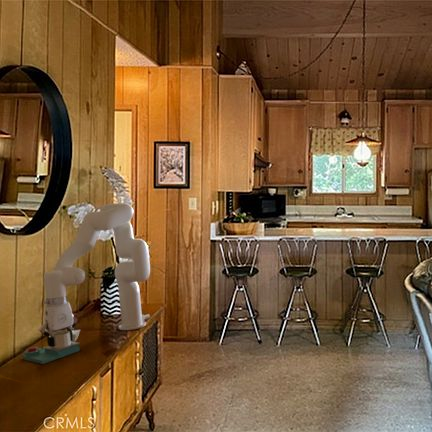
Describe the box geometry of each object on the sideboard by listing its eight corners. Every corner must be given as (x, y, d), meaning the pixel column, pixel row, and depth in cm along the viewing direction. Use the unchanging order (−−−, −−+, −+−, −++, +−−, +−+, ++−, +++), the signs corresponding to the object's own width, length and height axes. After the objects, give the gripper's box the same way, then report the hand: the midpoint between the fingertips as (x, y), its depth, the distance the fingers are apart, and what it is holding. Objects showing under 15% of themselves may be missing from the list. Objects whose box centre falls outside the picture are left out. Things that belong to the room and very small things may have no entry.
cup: (64, 341, 206) (62, 329, 206) (74, 343, 202) (73, 331, 202) (47, 346, 200) (46, 334, 200) (57, 349, 196) (56, 336, 196)
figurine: (81, 336, 224) (78, 304, 223) (76, 343, 214) (72, 309, 213) (65, 338, 222) (61, 306, 221) (58, 345, 213) (55, 311, 212)
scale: (59, 346, 211) (58, 339, 211) (79, 350, 203) (78, 343, 203) (22, 359, 198) (21, 351, 198) (42, 364, 190) (41, 356, 190)
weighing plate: (66, 348, 208) (65, 339, 208) (80, 351, 203) (79, 342, 203) (43, 355, 200) (42, 347, 200) (57, 359, 195) (56, 350, 194)
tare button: (34, 349, 201) (34, 345, 201) (39, 350, 199) (38, 346, 199) (26, 352, 198) (26, 348, 198) (31, 353, 196) (30, 349, 196)
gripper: (41, 306, 191) (45, 351, 192) (81, 296, 205) (85, 338, 206) (30, 305, 195) (35, 348, 196) (70, 295, 209) (74, 336, 210)
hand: (60, 343), depth 201 cm, fingers closed on cup, 7 cm apart
